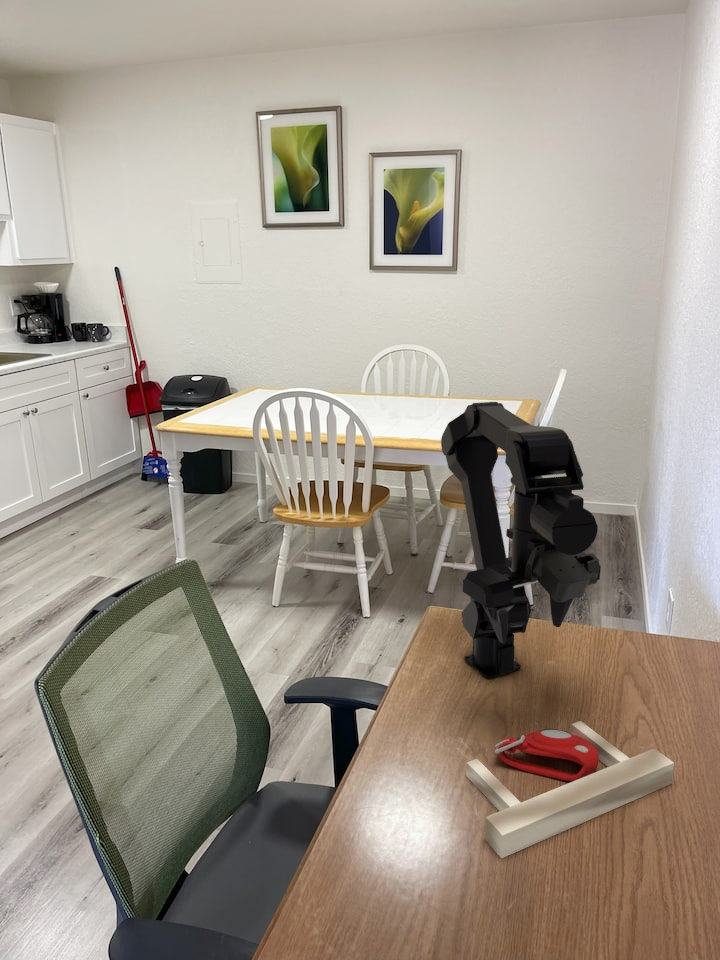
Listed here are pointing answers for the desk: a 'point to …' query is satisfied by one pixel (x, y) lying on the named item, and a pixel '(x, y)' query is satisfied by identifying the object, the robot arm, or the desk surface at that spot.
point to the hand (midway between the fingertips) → (529, 633)
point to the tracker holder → (551, 752)
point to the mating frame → (568, 795)
